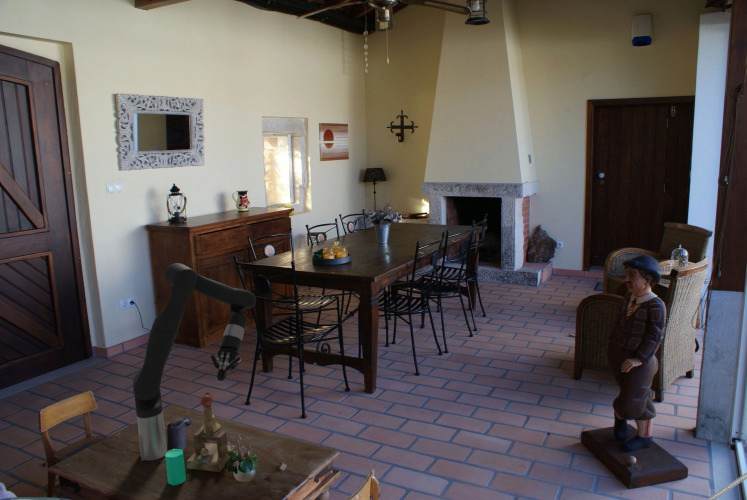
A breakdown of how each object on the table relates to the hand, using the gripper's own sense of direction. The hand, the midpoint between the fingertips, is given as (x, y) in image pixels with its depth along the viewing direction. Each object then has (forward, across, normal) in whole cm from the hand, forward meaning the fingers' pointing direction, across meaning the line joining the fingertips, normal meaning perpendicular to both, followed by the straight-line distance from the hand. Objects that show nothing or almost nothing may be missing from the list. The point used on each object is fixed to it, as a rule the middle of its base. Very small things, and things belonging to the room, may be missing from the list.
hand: (220, 380), depth 221 cm
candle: (+37, -6, +1) cm, 37 cm away
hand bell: (+12, -13, +27) cm, 33 cm away
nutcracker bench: (+27, 0, +11) cm, 29 cm away
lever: (+21, 0, +5) cm, 21 cm away
